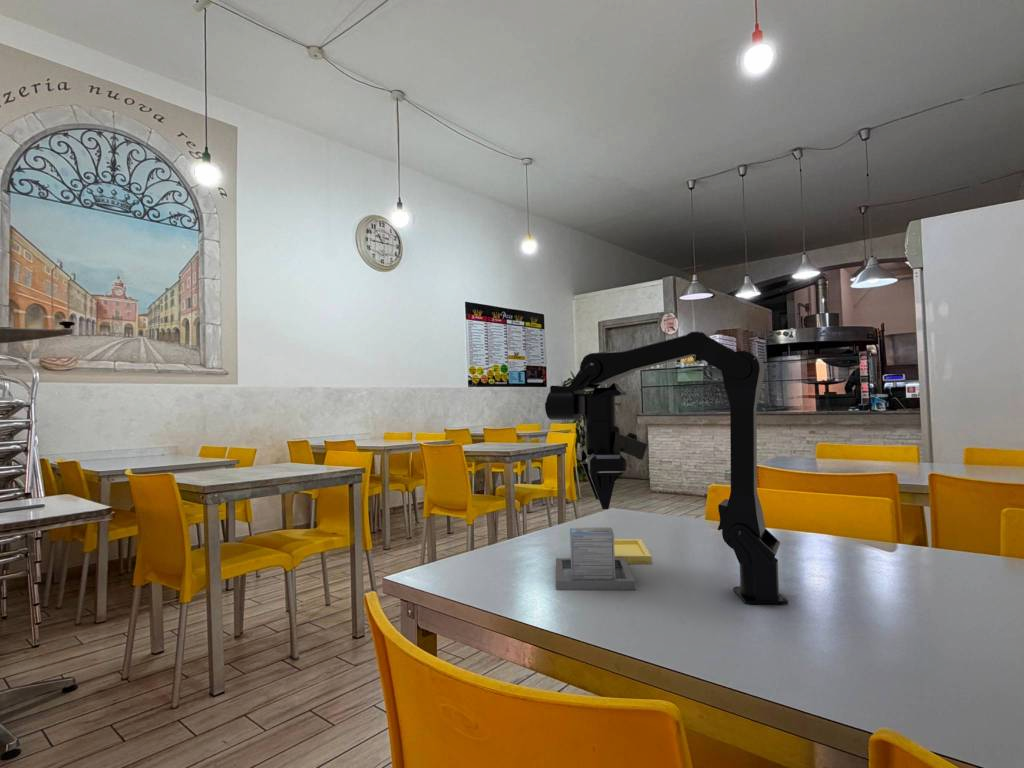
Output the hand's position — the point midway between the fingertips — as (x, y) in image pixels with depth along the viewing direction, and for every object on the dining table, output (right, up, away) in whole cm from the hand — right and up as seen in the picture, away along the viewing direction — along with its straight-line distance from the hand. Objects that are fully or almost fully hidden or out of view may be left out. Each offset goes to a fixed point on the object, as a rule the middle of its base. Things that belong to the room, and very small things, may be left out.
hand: (601, 504), depth 102 cm
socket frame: (-2, -13, -2) cm, 13 cm away
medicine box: (-2, -13, -2) cm, 14 cm away
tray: (+7, -13, +12) cm, 19 cm away
